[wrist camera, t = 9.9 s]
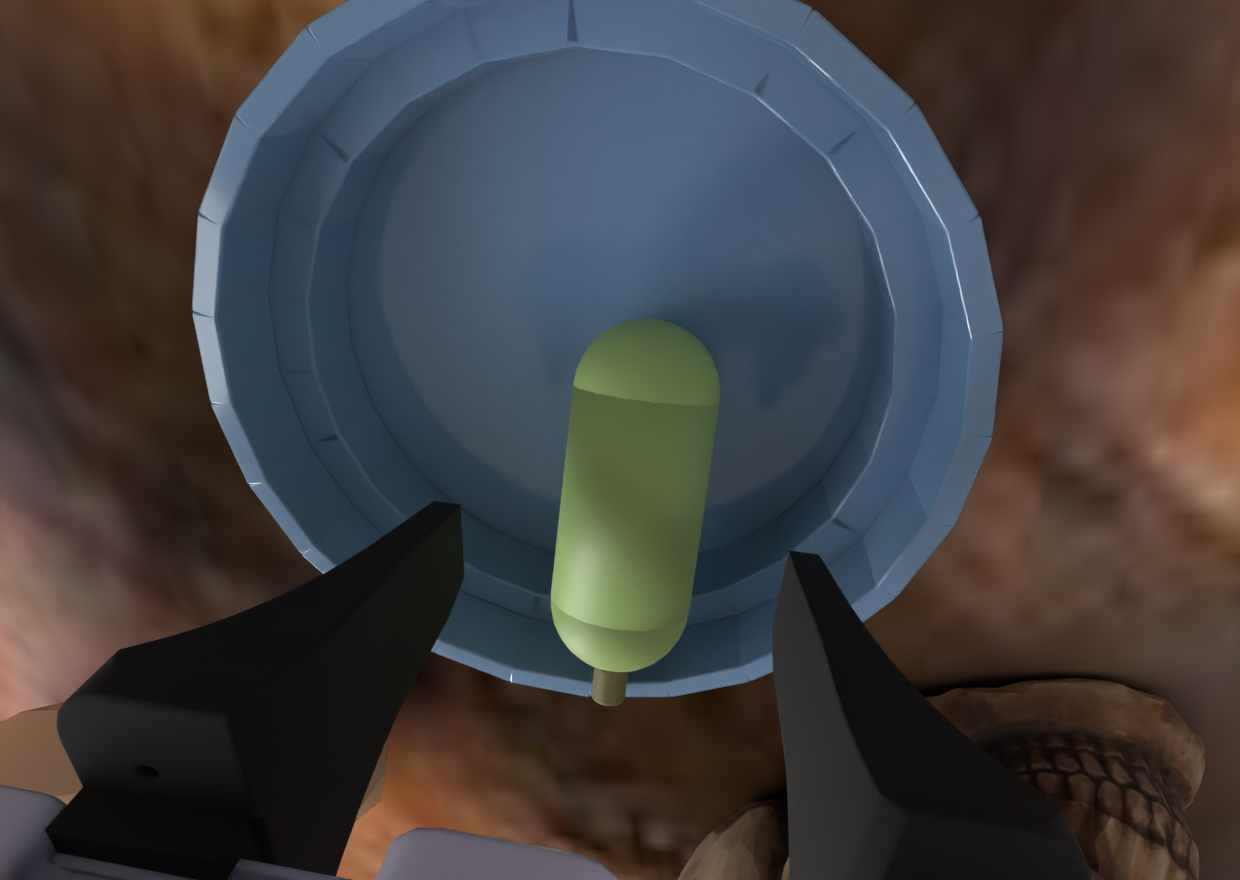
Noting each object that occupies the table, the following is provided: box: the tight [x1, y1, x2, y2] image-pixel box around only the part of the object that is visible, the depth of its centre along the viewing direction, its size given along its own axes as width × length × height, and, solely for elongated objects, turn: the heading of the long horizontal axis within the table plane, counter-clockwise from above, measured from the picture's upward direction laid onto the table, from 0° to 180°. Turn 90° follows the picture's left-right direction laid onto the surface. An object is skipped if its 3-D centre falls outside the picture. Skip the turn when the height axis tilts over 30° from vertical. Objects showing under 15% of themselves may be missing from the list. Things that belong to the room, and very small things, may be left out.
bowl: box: [192, 0, 1004, 697], centre depth 17 cm, size 17×17×4 cm
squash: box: [0, 702, 388, 821], centre depth 27 cm, size 11×20×9 cm, turn 118°
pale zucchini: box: [551, 318, 720, 706], centre depth 18 cm, size 10×4×4 cm, turn 176°
